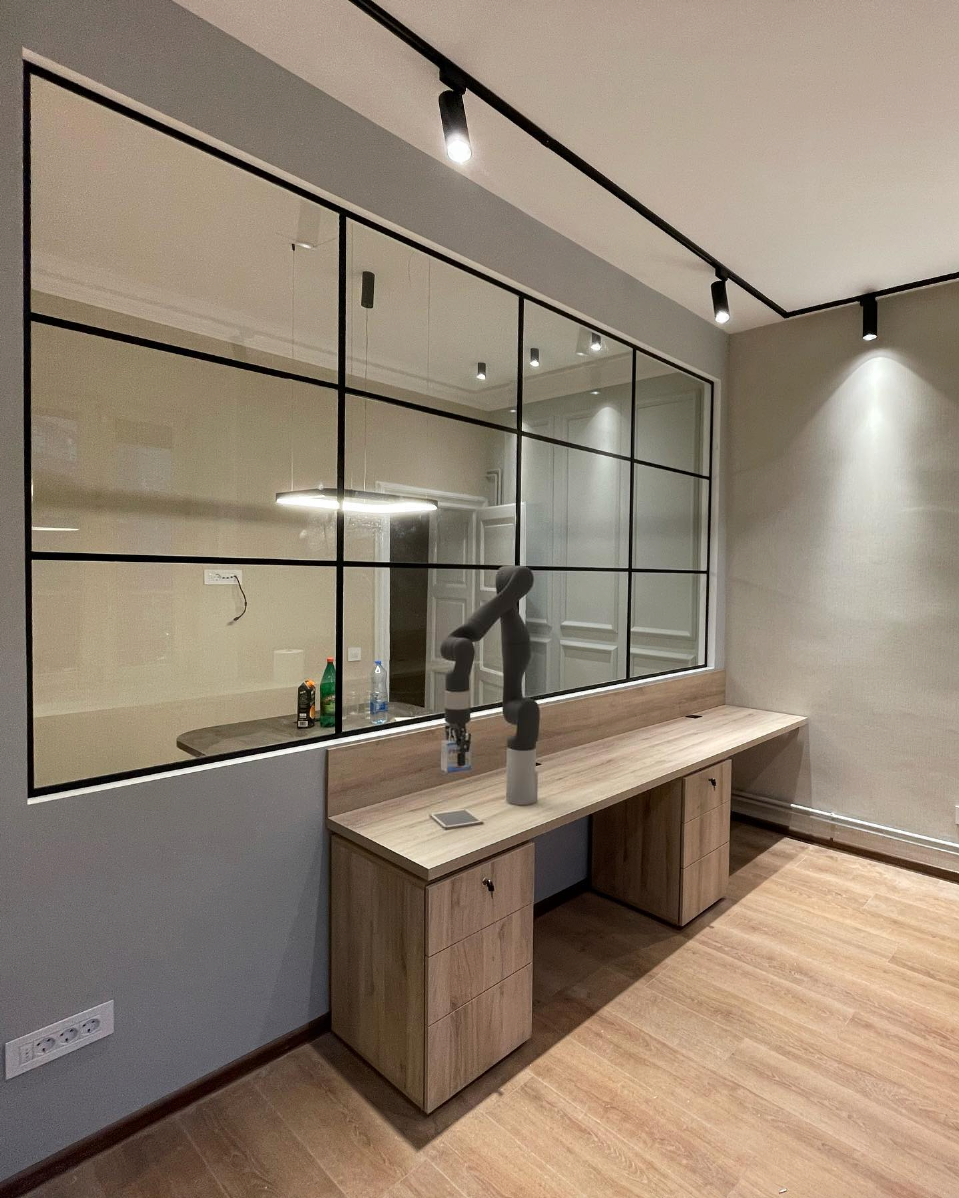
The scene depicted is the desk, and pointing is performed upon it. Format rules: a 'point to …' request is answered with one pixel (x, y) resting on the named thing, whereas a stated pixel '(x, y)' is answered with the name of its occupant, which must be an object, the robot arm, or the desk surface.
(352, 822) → the desk surface
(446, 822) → the mat
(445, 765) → the medicine box
